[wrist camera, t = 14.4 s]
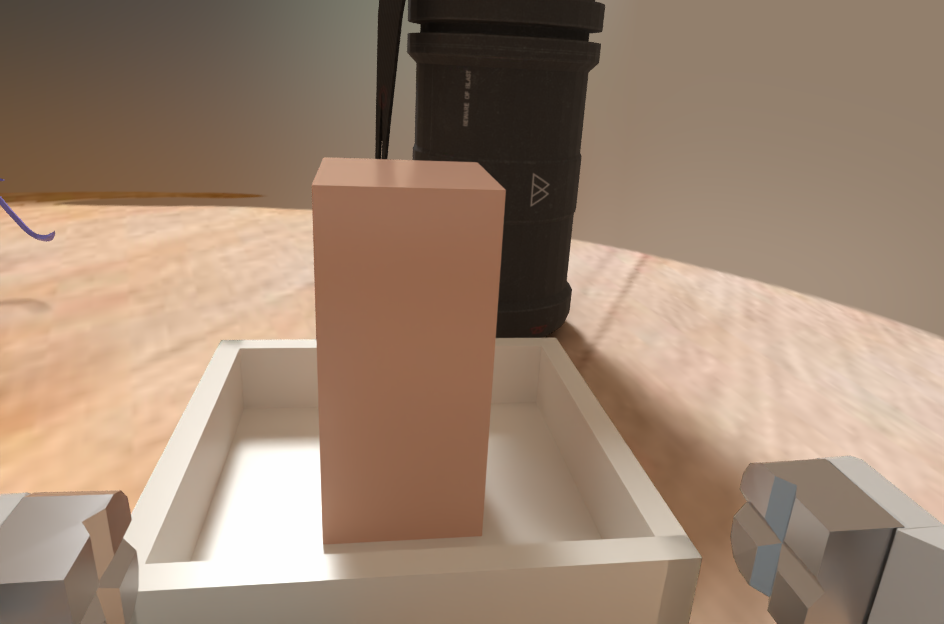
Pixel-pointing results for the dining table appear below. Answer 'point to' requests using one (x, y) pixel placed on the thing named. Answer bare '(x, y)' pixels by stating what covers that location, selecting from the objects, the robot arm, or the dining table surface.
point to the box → (405, 561)
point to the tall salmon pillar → (405, 345)
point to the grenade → (503, 125)
